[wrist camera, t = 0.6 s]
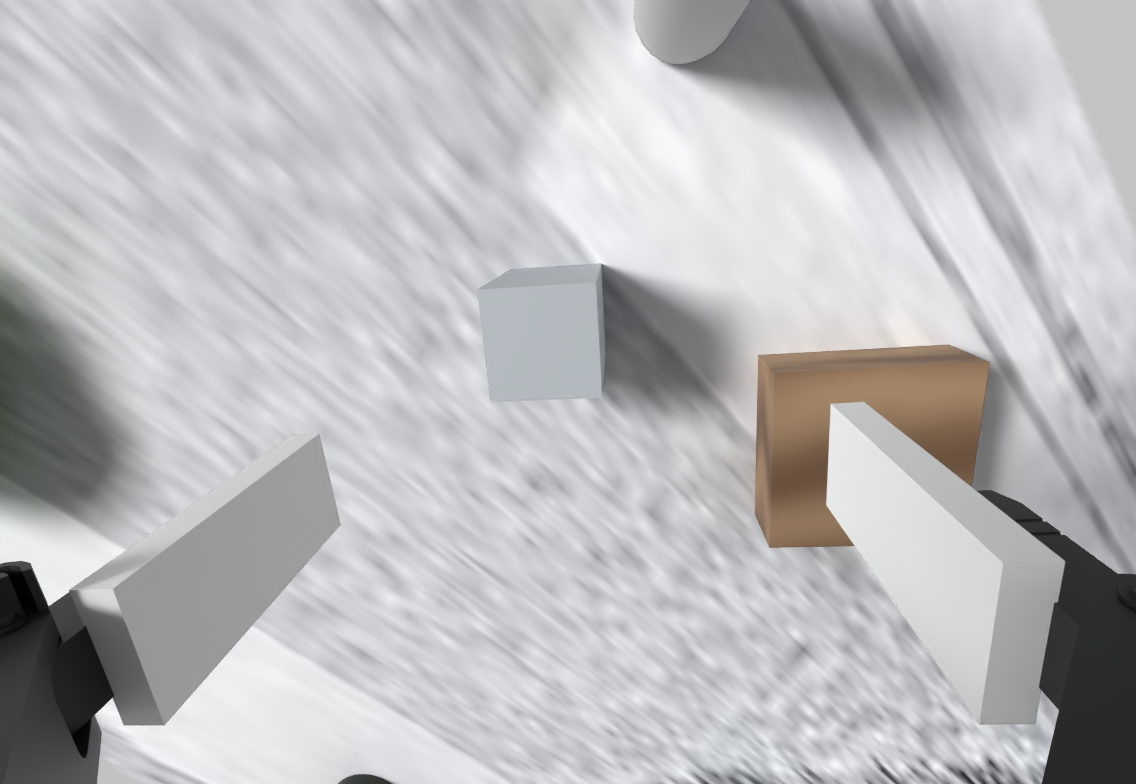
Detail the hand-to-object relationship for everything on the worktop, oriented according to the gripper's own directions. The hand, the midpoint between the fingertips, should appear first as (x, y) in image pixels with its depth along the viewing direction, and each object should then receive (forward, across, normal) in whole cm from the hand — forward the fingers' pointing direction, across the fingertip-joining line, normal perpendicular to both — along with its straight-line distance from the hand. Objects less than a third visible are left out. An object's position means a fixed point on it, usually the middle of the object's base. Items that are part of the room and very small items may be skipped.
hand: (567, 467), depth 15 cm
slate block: (+19, -2, +1) cm, 19 cm away
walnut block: (+19, +14, -7) cm, 25 cm away
